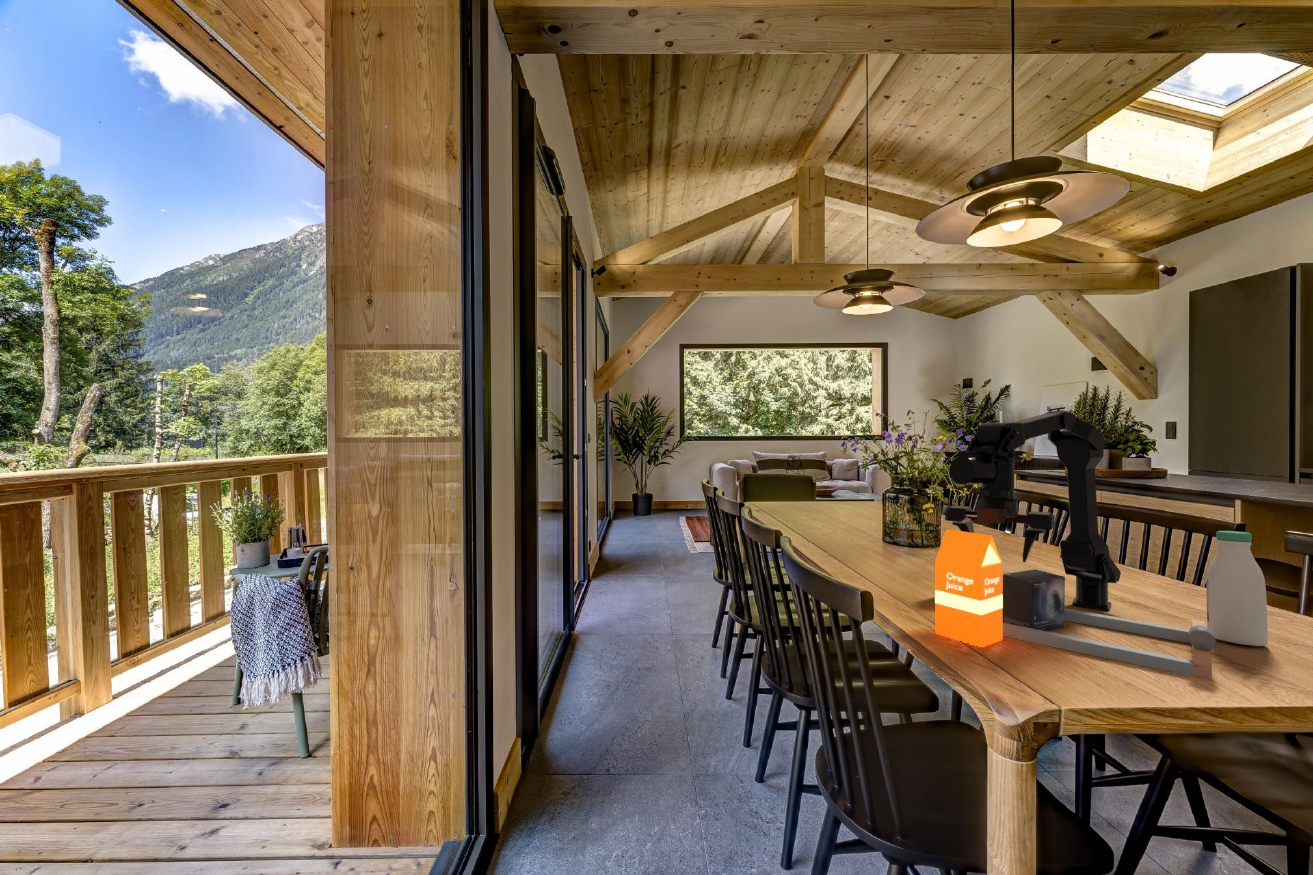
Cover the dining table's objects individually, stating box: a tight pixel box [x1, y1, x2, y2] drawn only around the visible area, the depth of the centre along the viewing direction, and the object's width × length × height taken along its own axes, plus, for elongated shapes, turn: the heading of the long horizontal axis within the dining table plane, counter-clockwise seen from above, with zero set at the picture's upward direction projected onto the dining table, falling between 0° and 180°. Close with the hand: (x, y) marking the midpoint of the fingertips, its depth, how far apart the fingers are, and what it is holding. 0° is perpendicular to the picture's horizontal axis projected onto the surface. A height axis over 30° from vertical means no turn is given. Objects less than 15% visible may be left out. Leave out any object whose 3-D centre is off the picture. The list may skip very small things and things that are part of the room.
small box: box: [1002, 568, 1066, 632], centre depth 111 cm, size 11×6×10 cm, turn 114°
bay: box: [1003, 607, 1217, 681], centre depth 104 cm, size 21×30×7 cm
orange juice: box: [934, 529, 1004, 648], centre depth 106 cm, size 8×9×20 cm
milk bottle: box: [1206, 530, 1269, 647], centre depth 103 cm, size 8×8×20 cm
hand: (997, 558), depth 114 cm, fingers open, 9 cm apart
